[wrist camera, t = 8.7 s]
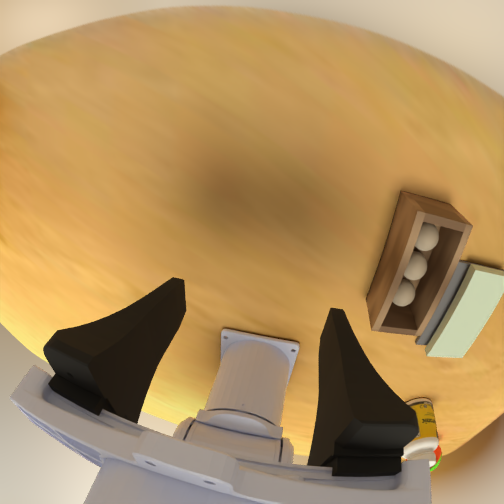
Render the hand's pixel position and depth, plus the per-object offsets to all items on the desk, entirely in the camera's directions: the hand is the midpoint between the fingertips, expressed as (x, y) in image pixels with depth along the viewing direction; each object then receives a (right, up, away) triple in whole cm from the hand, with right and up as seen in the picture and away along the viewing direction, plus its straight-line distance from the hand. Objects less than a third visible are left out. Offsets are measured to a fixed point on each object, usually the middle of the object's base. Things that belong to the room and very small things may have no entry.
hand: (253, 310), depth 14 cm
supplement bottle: (+22, -19, +18) cm, 34 cm away
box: (+13, +3, +7) cm, 15 cm away
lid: (+20, -3, +8) cm, 22 cm away
